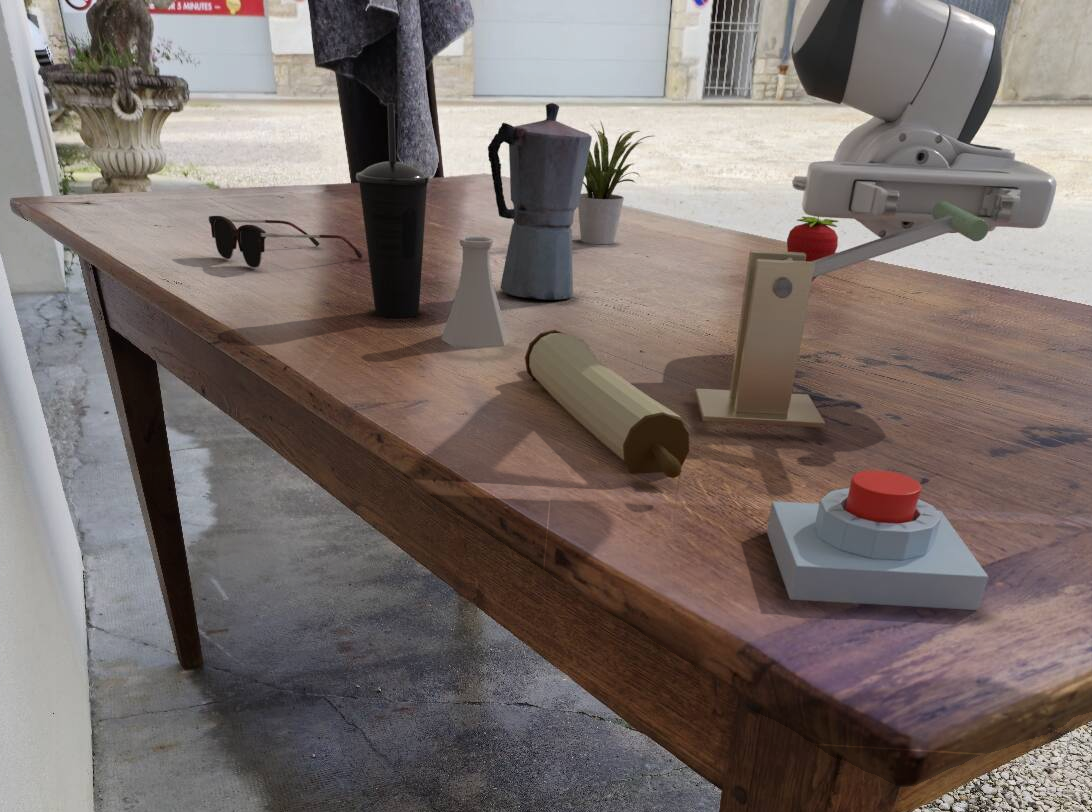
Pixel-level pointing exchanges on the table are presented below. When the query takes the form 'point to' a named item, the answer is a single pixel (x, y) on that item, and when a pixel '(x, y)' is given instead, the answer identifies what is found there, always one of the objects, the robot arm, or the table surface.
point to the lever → (907, 238)
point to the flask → (475, 301)
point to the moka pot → (540, 203)
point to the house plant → (603, 191)
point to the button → (883, 497)
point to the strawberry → (813, 238)
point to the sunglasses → (253, 238)
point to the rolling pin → (609, 405)
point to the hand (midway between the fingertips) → (948, 207)
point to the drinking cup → (394, 230)
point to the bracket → (767, 347)
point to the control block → (872, 557)
